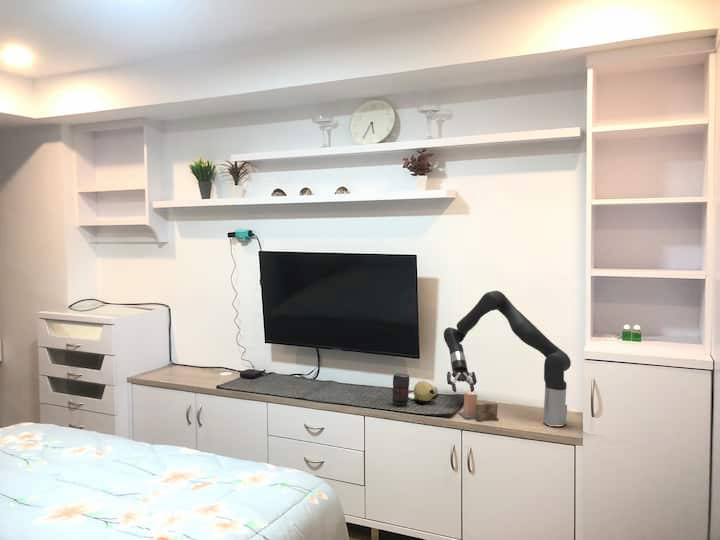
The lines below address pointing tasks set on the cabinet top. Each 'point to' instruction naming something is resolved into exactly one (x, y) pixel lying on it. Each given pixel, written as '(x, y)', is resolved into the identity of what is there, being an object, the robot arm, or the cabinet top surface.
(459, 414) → the slate pad
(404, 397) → the camera lens
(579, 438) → the cabinet top surface
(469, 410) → the salmon pink rectangular block
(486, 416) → the walnut board
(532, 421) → the cabinet top surface
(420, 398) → the yellow round lump
